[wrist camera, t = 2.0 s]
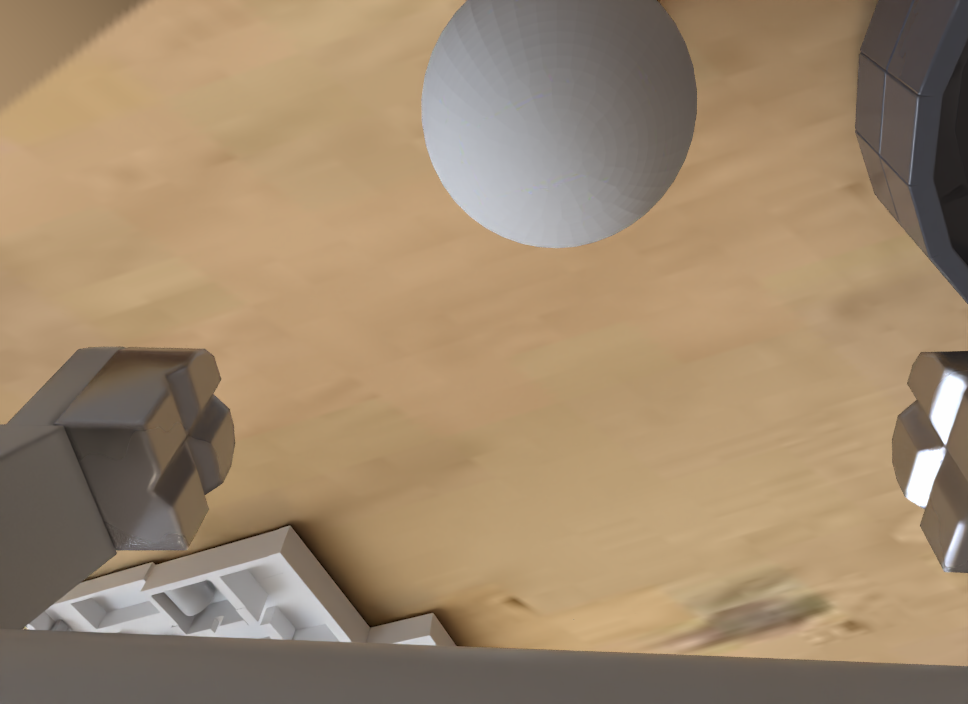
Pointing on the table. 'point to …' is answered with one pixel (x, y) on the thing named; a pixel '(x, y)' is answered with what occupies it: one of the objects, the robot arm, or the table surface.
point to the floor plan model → (231, 599)
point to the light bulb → (559, 115)
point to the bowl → (919, 124)
